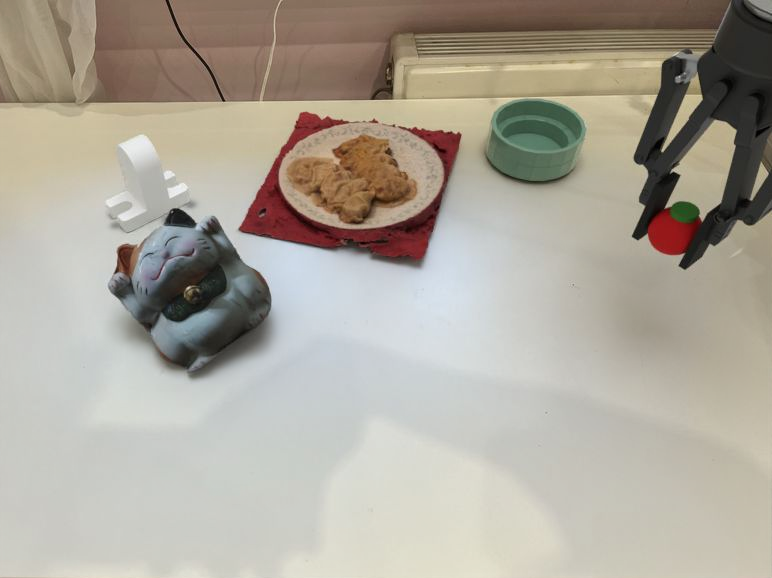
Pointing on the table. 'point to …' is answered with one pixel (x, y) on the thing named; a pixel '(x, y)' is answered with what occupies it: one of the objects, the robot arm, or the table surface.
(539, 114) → the bowl
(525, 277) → the table surface
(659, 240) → the tomato
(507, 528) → the table surface
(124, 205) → the cable organizer
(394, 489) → the table surface
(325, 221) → the plate with food
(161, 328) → the lucky cat figurine
